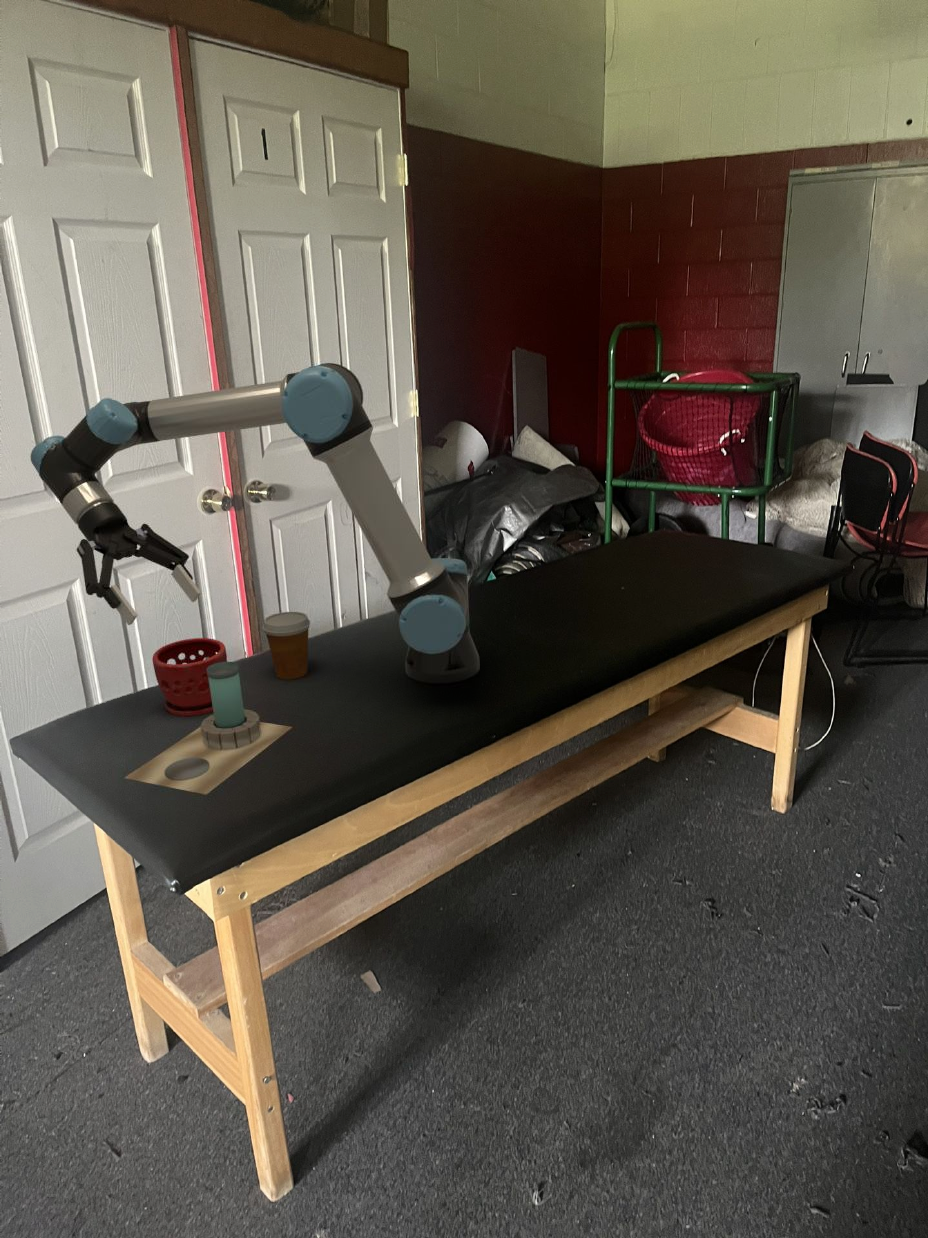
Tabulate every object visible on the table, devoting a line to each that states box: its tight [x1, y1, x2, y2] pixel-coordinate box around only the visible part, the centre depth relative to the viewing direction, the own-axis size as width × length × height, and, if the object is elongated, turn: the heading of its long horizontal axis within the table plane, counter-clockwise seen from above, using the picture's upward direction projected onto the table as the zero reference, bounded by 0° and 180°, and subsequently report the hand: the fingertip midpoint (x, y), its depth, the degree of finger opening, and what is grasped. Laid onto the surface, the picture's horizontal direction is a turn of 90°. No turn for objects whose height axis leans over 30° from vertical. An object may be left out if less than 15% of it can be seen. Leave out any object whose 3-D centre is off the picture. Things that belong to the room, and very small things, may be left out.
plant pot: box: [152, 637, 228, 717], centre depth 165 cm, size 13×13×12 cm
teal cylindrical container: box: [207, 661, 245, 729], centre depth 151 cm, size 5×5×13 cm
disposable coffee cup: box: [262, 611, 311, 680], centre depth 179 cm, size 10×10×12 cm
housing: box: [124, 708, 293, 796], centre depth 148 cm, size 16×24×4 cm, turn 158°
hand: (166, 608), depth 152 cm, fingers open, 13 cm apart
